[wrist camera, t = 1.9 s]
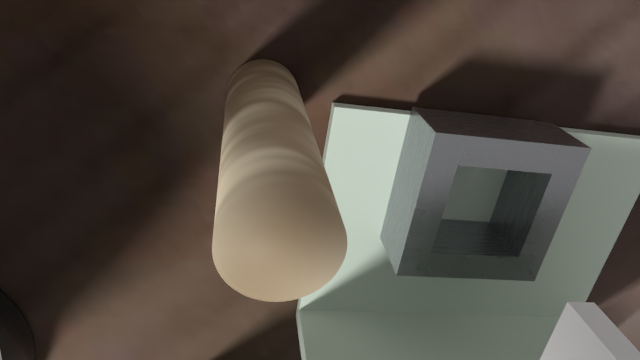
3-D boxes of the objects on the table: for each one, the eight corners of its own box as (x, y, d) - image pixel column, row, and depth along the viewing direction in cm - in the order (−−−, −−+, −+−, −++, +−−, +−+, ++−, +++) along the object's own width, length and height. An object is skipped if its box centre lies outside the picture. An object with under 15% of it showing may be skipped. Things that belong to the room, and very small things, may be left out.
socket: (379, 237, 32) (396, 275, 29) (411, 106, 29) (435, 132, 25) (504, 244, 34) (534, 281, 31) (551, 122, 30) (591, 148, 27)
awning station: (295, 315, 36) (323, 522, 23) (332, 102, 29) (399, 237, 16) (566, 321, 40) (711, 500, 28) (655, 137, 33) (903, 266, 21)
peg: (224, 124, 28) (208, 299, 15) (229, 54, 27) (216, 184, 13) (293, 131, 29) (335, 303, 16) (302, 63, 27) (358, 194, 14)
